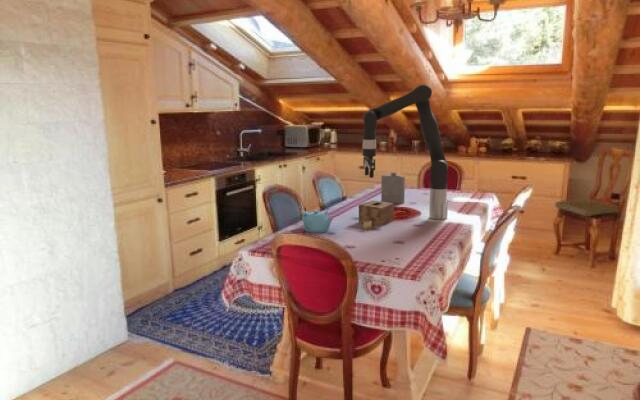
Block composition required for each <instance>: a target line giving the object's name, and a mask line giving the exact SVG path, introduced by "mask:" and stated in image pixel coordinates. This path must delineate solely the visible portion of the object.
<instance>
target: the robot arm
mask: <svg viewBox="0 0 640 400" xmlns="http://www.w3.org/2000/svg"><path fill="white" fill-rule="evenodd" d="M432 94H433V90H432V88H431V86H429V85H427V84H420V85H417V86H416V87H415V88H414V89H413V90H412V91H410V92H409V93H406V94H404V95H403V96H400V97H398V98H395V99H392V100H389V101H388V102H384V103H383V104H381V105H380V106H378V107H374V108H372V109H369V110H367V111H365V112H364V113H363V114H362V120H363V124H364V125H363V126H364V128H363V130H362V131H363V134H362V156H363V163H362V164H363V165H362V166H363V168H364V176H368V177H369V178H372V179H373V178H374V174H375V173H374V171H375V170H376V158H375V159H374V157H376V156H377V140H376V139H377V123H378V121H379V120H381V119H384V118H388V117H390V116H393V115H395V114H396V113H398V112H400V111H402V110H403V109H405V108H407V107H408V108H409V106H412V105H415V106H416V109H417V112H418V118H419V124H420V129H421V134H422V136H423V137H422V138H423V140H424V142H425V145H426V147H427V150H428V153H429V157H430V162H431V163H430V164H431V165H430V169H429V172H430V173H429V208H428V209H429V213H428V214H429V215H428V217H429V219H432V220H442V221H443V220H445V219H447V218H448V210H449V209H448V208H449V207H448V205H449V203H448V202H449V201H448V200H447V195H448V169H449V164H448V162H447V160H446V157H445V154H444V151H443V144H442V138H441V132H440V131H441V130H440V129H439V124H438V121H437V119H436V117H435V114H434V113H433V110H432V108H431V103H430V99H431V97H432Z"/></svg>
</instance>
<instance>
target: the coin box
mask: <svg viewBox="0 0 640 400" xmlns="http://www.w3.org/2000/svg"><path fill="white" fill-rule="evenodd" d="M394 211H395V203H391V202H381V200H374V199H373V200H370V201H366V202H363V203H360V204H358V223H361V224H363V222H365V221H368V220H371V221H372V226H377V227H378V226H379V227H381V226H384V225H387V224H389V223H392V222H394V219H395V218H394V217H395V215H394V213H395V212H394Z"/></svg>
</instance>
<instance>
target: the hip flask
mask: <svg viewBox="0 0 640 400" xmlns="http://www.w3.org/2000/svg"><path fill="white" fill-rule="evenodd" d="M405 185H406V176H402V175H398V174H397V171H391V172H390V174H389V175H388V174H387V175H386V174H381V188H380V191H381V192H380V195H381V196H380V198H381V200H380V201H381V202H388V203H394V204H402V205H404V204H405V194H406V193H405V191H406V190H405V188H406V186H405Z"/></svg>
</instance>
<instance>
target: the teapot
mask: <svg viewBox="0 0 640 400" xmlns="http://www.w3.org/2000/svg"><path fill="white" fill-rule="evenodd" d="M332 220H333V217H332V216H329V211H328V210H324V212H321V211H319V210H318V209H314V210H313V211H311V212H308V211H306V210H305V211H303V212H302V216H301V221H302V223H303V224H302V226H303V229H304V231H305V232H306V233H309V234H321V233H322V234H323V233H326V232H327V231H329V230H330V227H331V226H330V225H331V223H332Z"/></svg>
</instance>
